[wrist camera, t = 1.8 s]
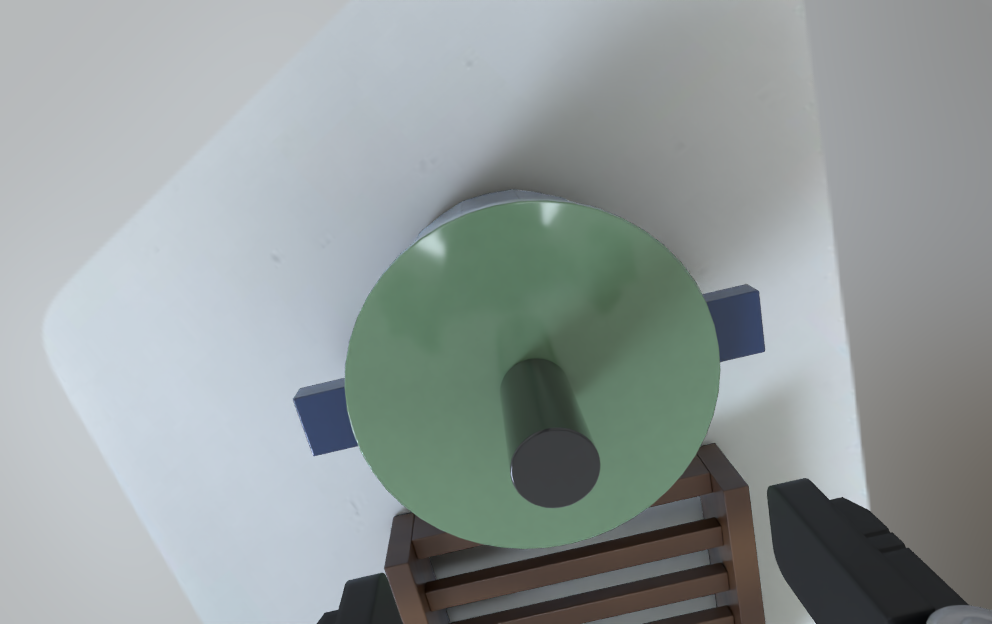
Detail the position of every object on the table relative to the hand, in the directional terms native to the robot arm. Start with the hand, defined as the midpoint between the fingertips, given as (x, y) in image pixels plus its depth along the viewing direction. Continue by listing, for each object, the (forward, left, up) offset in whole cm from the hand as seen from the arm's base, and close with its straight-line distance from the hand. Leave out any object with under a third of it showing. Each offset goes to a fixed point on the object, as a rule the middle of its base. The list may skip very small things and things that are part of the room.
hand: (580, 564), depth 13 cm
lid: (0, 0, -9) cm, 9 cm away
